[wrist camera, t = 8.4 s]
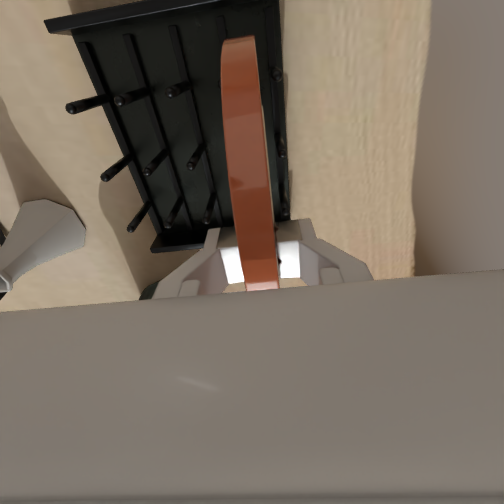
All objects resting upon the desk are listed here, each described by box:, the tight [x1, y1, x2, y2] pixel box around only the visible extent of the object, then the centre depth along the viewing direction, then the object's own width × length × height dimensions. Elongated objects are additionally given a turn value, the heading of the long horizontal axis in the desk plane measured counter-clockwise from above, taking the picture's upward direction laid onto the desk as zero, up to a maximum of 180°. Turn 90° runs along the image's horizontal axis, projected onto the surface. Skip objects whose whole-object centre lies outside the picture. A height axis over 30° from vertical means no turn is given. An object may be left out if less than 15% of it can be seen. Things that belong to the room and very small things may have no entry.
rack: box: [44, 0, 291, 253], centre depth 23 cm, size 20×16×7 cm
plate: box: [220, 34, 280, 291], centre depth 15 cm, size 14×1×14 cm, turn 8°
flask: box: [0, 199, 86, 292], centre depth 28 cm, size 7×7×10 cm
